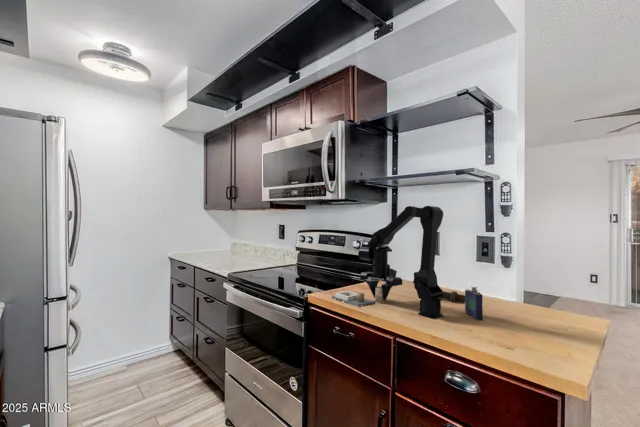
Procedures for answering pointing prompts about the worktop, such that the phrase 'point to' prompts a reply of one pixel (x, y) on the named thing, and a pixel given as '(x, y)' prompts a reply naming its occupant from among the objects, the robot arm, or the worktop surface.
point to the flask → (474, 304)
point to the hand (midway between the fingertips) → (380, 299)
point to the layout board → (352, 298)
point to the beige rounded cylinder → (378, 295)
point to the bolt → (453, 297)
